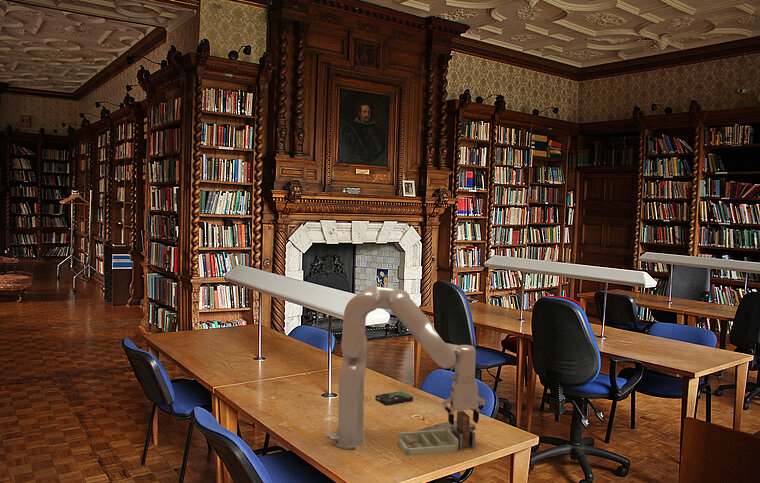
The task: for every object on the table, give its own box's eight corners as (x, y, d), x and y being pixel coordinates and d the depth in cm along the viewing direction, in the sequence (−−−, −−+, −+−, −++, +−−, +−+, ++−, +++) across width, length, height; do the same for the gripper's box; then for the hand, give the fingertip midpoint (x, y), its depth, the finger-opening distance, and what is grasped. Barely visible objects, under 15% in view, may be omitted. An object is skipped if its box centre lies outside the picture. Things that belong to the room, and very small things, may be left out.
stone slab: (404, 430, 238) (461, 414, 255) (404, 438, 239) (461, 422, 255) (420, 439, 230) (478, 422, 246) (420, 447, 230) (478, 430, 247)
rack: (405, 458, 216) (406, 443, 216) (397, 446, 227) (398, 432, 226) (458, 454, 221) (458, 439, 221) (447, 442, 232) (448, 429, 231)
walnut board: (462, 448, 223) (463, 417, 223) (456, 441, 230) (457, 410, 230) (468, 448, 224) (469, 416, 223) (461, 441, 231) (462, 410, 230)
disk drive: (386, 407, 273) (413, 402, 281) (386, 401, 273) (413, 396, 281) (375, 401, 282) (401, 396, 290) (375, 395, 282) (401, 390, 290)
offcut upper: (410, 446, 219) (410, 441, 219) (404, 440, 224) (404, 435, 224) (417, 445, 220) (417, 440, 220) (411, 439, 225) (411, 434, 225)
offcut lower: (409, 452, 218) (409, 446, 218) (403, 445, 225) (404, 439, 225) (417, 451, 219) (417, 446, 219) (412, 444, 226) (412, 438, 226)
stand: (459, 452, 222) (460, 434, 222) (451, 443, 231) (451, 425, 230) (474, 451, 223) (475, 433, 223) (465, 442, 232) (466, 424, 232)
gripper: (446, 382, 220) (445, 428, 221) (490, 380, 224) (488, 425, 225) (439, 376, 227) (438, 420, 228) (482, 374, 231) (480, 418, 232)
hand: (463, 422), depth 227 cm, fingers open, 9 cm apart
